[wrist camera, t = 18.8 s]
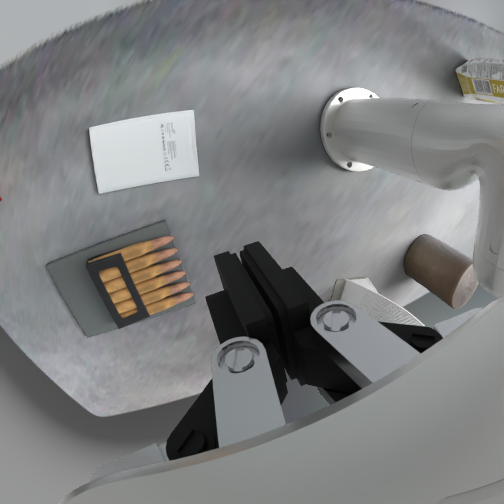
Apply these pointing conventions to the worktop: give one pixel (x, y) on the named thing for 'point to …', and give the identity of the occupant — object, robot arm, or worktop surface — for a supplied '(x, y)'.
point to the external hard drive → (144, 150)
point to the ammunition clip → (136, 281)
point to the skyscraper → (372, 301)
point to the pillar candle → (441, 270)
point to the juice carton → (482, 79)
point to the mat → (84, 291)
